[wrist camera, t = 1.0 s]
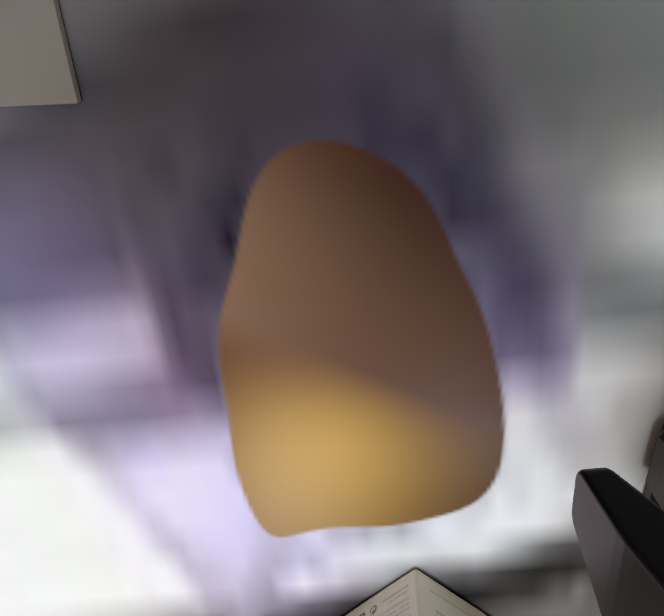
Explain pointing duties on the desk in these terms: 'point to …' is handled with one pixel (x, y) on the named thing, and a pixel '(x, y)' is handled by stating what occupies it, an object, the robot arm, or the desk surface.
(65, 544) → the desk surface
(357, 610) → the small box
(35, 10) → the grey flat square plate
